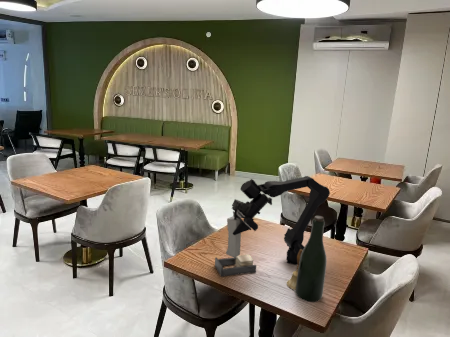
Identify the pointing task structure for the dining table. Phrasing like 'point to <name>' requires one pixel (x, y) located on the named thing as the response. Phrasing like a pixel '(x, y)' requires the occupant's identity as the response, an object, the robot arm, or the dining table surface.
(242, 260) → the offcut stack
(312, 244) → the beer bottle
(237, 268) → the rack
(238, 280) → the dining table surface
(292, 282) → the hand bell
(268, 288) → the dining table surface
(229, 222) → the vintage mobile phone
